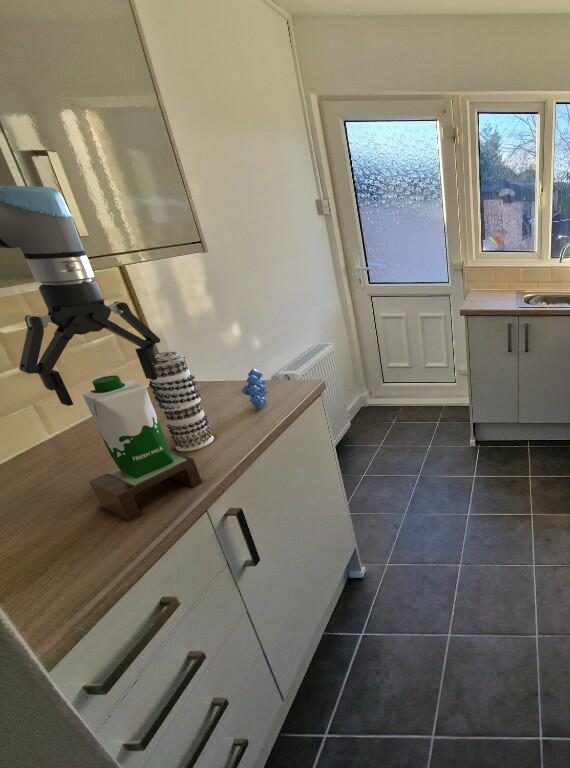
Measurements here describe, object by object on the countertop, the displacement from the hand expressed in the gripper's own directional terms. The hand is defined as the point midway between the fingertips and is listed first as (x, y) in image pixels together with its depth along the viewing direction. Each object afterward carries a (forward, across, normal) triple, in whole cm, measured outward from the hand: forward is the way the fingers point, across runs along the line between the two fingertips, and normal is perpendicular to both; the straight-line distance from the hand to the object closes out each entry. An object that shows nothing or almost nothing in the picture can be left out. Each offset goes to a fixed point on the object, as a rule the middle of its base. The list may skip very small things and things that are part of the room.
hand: (112, 390), depth 82 cm
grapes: (+25, +39, +19) cm, 50 cm away
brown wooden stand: (+25, 0, 0) cm, 25 cm away
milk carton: (+18, 0, 0) cm, 18 cm away
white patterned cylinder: (+25, +17, +14) cm, 33 cm away
